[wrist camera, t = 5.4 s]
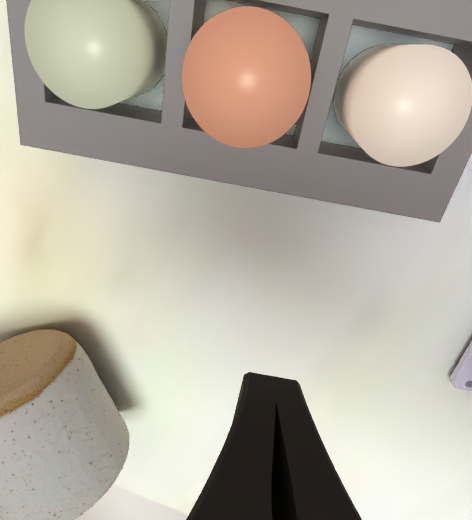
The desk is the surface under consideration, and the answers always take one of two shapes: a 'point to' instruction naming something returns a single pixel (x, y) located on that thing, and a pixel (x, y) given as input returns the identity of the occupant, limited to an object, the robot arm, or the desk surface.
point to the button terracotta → (246, 77)
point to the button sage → (95, 49)
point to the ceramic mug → (55, 429)
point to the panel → (279, 151)
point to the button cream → (404, 101)
